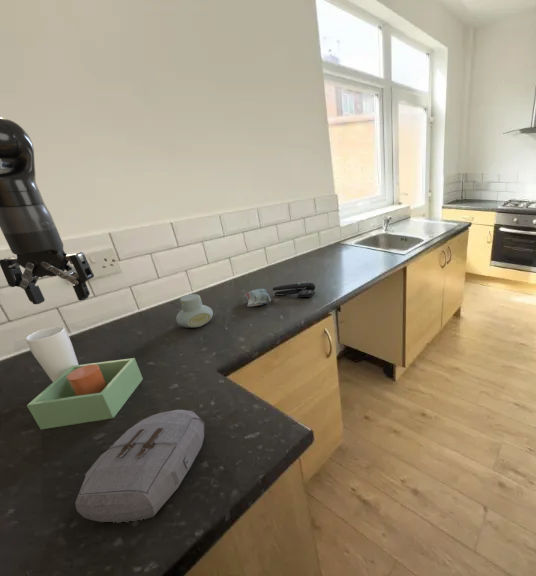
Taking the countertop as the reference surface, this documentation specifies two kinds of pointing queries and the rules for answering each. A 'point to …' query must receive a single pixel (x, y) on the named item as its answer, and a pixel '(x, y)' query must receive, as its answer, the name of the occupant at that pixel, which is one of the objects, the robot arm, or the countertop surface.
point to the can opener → (304, 292)
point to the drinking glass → (52, 350)
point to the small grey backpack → (141, 468)
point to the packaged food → (257, 297)
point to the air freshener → (193, 312)
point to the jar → (87, 380)
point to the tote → (86, 396)
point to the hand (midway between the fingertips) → (62, 301)
